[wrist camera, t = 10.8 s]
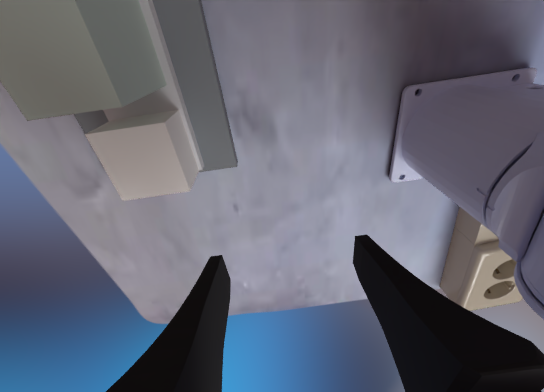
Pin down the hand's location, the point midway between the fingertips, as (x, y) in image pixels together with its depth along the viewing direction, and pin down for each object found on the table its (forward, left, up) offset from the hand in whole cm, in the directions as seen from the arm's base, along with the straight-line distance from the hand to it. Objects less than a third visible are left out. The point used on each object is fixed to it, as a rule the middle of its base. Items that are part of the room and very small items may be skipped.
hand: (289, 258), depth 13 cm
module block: (+8, -11, -8) cm, 16 cm away
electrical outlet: (-22, +11, -10) cm, 26 cm away
